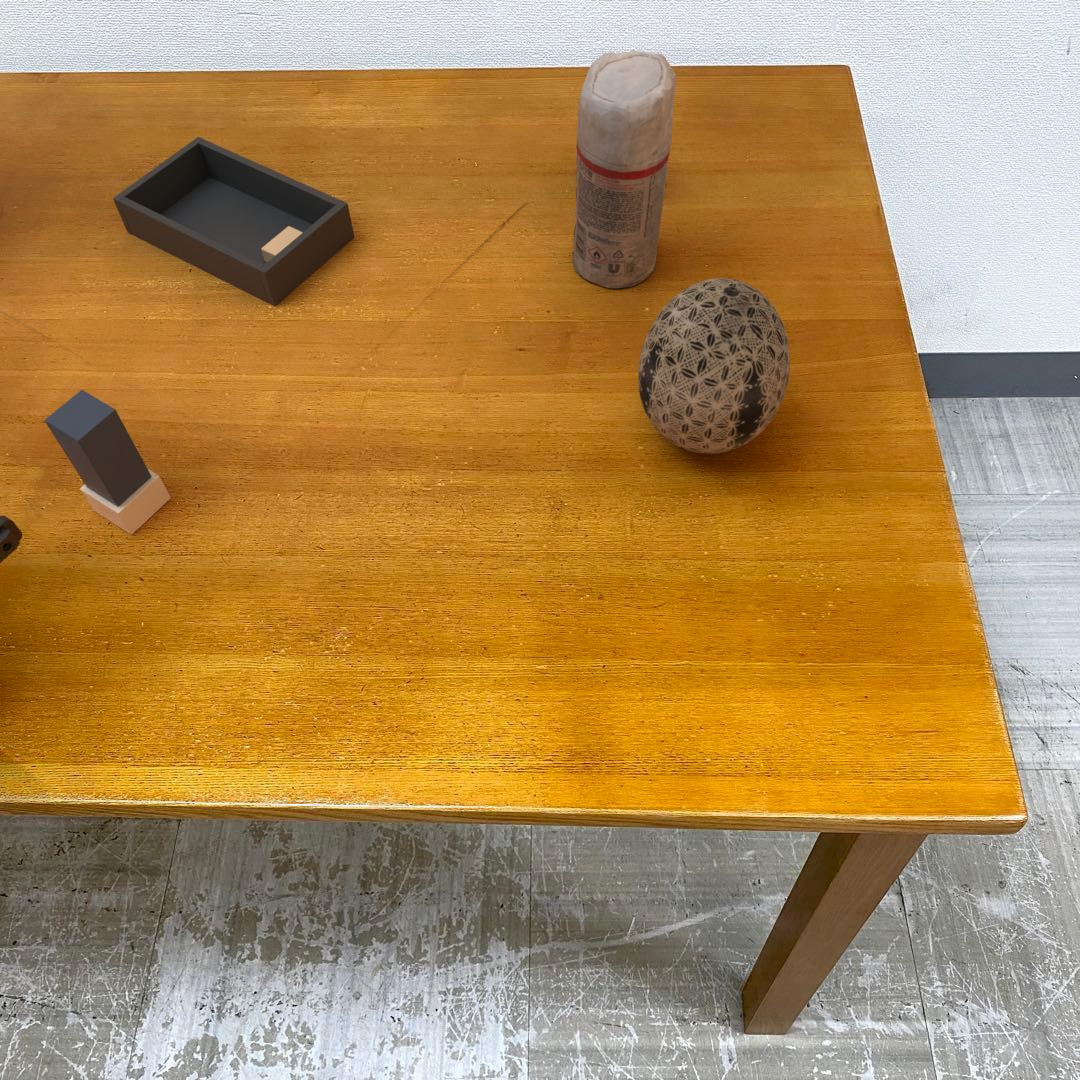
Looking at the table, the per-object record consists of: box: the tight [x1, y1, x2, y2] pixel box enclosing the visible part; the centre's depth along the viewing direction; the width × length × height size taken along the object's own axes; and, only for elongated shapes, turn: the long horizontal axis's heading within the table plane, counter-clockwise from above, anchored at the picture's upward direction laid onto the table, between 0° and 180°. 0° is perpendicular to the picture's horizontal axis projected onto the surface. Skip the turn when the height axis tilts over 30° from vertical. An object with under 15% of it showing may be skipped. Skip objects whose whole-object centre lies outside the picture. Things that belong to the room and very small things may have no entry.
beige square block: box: [261, 226, 303, 262], centre depth 97 cm, size 4×4×2 cm
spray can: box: [571, 49, 677, 289], centre depth 89 cm, size 8×8×20 cm
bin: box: [112, 136, 355, 307], centre depth 99 cm, size 20×12×5 cm, turn 56°
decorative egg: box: [637, 277, 791, 455], centre depth 80 cm, size 12×12×15 cm
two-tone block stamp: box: [44, 389, 172, 535], centre depth 78 cm, size 4×4×11 cm
